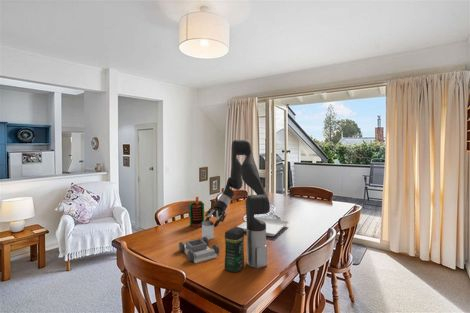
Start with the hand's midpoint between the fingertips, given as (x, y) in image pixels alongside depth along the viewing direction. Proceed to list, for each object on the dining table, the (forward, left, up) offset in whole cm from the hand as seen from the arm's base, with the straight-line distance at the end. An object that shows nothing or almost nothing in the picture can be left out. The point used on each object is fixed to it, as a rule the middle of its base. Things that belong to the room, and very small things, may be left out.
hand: (209, 225), depth 156 cm
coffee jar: (-41, +7, -8) cm, 42 cm away
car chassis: (-17, +15, -8) cm, 23 cm away
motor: (+25, -2, -8) cm, 27 cm away
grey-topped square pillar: (-1, +2, -8) cm, 8 cm away
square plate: (-6, -37, -8) cm, 38 cm away
